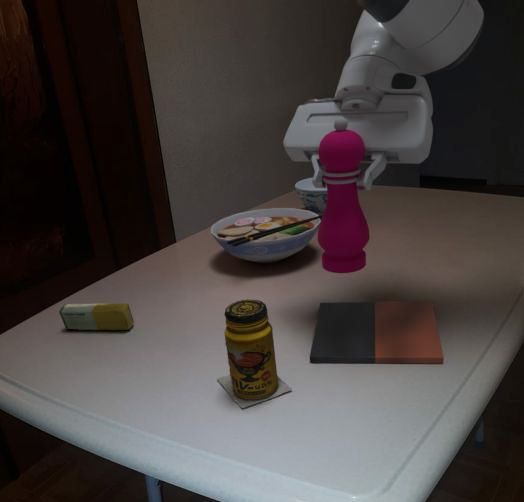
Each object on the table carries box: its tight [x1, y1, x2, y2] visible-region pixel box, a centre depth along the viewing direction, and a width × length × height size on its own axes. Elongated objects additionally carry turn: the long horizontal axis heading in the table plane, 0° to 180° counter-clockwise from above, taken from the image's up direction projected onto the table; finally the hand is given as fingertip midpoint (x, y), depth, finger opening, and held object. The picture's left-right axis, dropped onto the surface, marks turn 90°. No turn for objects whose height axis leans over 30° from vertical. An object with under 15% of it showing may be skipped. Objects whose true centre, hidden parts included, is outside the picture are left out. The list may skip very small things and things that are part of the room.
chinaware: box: [294, 177, 327, 216], centre depth 140 cm, size 15×15×8 cm
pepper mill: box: [317, 117, 370, 274], centre depth 75 cm, size 7×7×20 cm
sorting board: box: [309, 300, 445, 364], centre depth 84 cm, size 18×18×1 cm
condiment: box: [216, 299, 293, 409], centre depth 72 cm, size 7×8×12 cm
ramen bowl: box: [210, 207, 323, 264], centre depth 116 cm, size 25×23×8 cm
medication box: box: [58, 302, 135, 331], centre depth 94 cm, size 12×3×4 cm, turn 78°
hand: (340, 187), depth 74 cm, fingers closed on pepper mill, 5 cm apart
